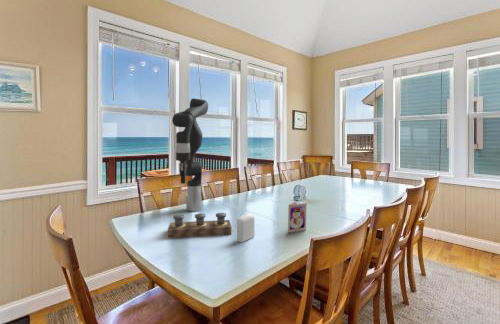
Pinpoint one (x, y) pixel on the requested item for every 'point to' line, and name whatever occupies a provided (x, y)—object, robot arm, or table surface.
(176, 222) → the left knob
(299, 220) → the greeting card
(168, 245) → the table surface
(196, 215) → the middle knob
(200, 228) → the mount board
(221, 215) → the right knob
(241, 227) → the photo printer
